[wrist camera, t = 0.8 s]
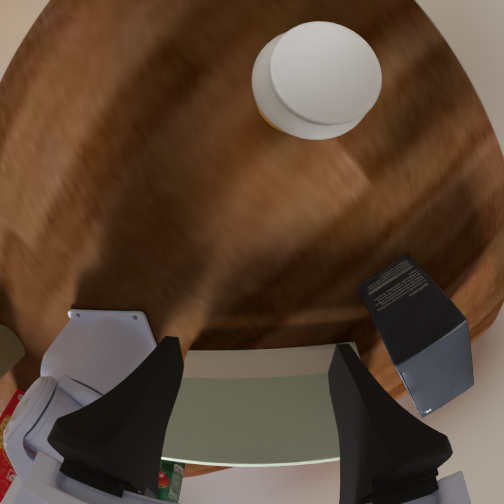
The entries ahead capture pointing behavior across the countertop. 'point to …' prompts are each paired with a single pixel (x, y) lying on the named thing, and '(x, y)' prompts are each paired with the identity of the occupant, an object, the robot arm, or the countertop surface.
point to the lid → (253, 422)
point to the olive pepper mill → (9, 350)
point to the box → (420, 333)
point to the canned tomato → (170, 480)
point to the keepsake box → (260, 362)
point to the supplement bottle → (316, 80)
